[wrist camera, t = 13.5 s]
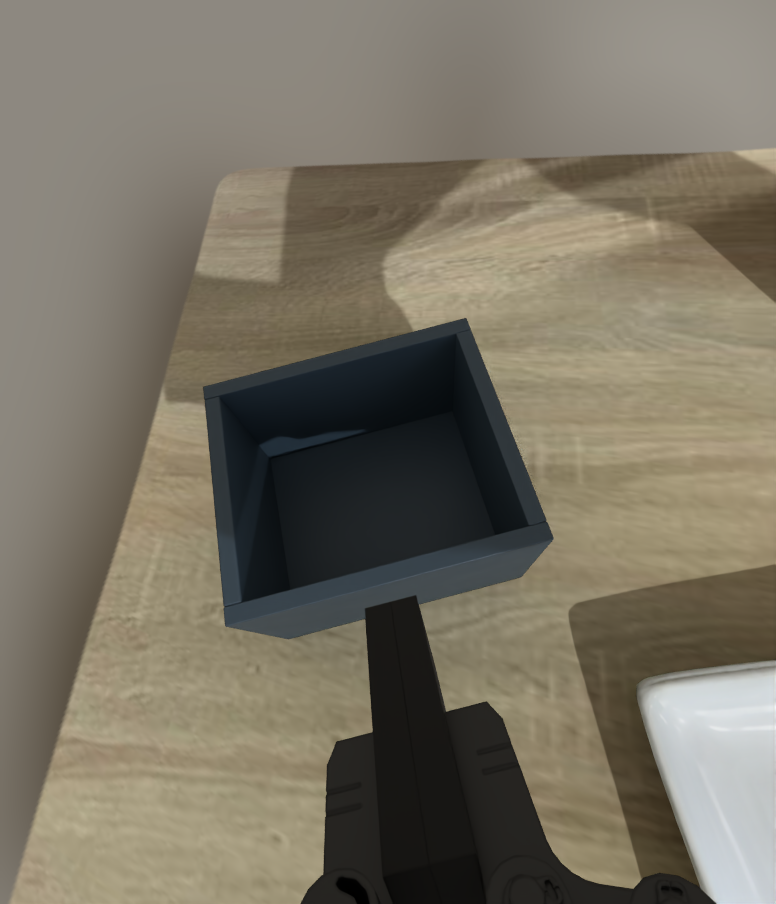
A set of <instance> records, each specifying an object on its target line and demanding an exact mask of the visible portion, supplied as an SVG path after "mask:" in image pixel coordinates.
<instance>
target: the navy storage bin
mask: <svg viewBox="0 0 776 904" xmlns="http://www.w3.org/2000/svg"><path fill="white" fill-rule="evenodd" d="M203 390H204V399H205V408H206V419H207V430H208V441H209V452H210V462H211V473H212V484H213V495H214V506H215V517H216V527H217V538H218V549H219V560H220V571H221V581H222V592H223V603H224V618H225V626H226V627H231V628H236V629H240V630H245V631H250V632H255V633H260V634H265V635H270V636H275V637H280V638H285V639H291V638H295V637H299V636H302V635H306V634H310V633H314V632H317V631H321V630H325V629H329V628H332V627H336V626H340V625H344V624H347V623H351V622H355V621H359V620H362V619H365V608H368V607H372V606H376V605H379V604H383V603H387V602H391V601H395V600H399V599H403V598H406V597H410V596H414V595H416V596H417V600H418V604H422V603H426V602H430V601H434V600H437V599H441V598H445V597H449V596H452V595H456V594H460V593H464V592H467V591H471V590H475V589H479V588H482V587H486V586H490V585H494V584H497V583H501V582H505V581H509V580H512V579H516V578H520V577H522V576H523V574H524V573H525V572H526V571H527V570H528V568H529V567H530V566H531V565H532V564H533V563H534V561H535V560H536V559H537V558H538V557H539V556H540V554H541V553H542V552H543V551H544V550H545V549H546V547H547V546H548V545H549V544H550V543H551V542H552V540H553V539H554V538H553V535H552V533H551V530H550V528H549V525H548V523H547V522H546V518H545V515H544V513H543V510H542V508H541V505H540V503H539V500H538V498H537V495H536V493H535V490H534V488H533V485H532V482H531V480H530V477H529V475H528V472H527V470H526V467H525V465H524V462H523V460H522V457H521V455H520V452H519V450H518V447H517V445H516V442H515V440H514V437H513V435H512V432H511V430H510V427H509V425H508V422H507V420H506V417H505V415H504V412H503V410H502V407H501V405H500V402H499V399H498V397H497V394H496V392H495V389H494V387H493V384H492V382H491V379H490V377H489V374H488V372H487V369H486V367H485V364H484V362H483V359H482V357H481V354H480V352H479V349H478V347H477V344H476V342H475V339H474V337H473V334H472V332H471V329H470V327H469V324H468V321H467V319H466V318H464V319H460V320H456V321H453V322H449V323H445V324H441V325H437V326H434V327H430V328H426V329H422V330H418V331H414V332H411V333H407V334H403V335H399V336H395V337H392V338H388V339H384V340H380V341H376V342H373V343H369V344H365V345H361V346H357V347H353V348H350V349H346V350H342V351H338V352H334V353H331V354H327V355H323V356H319V357H315V358H311V359H308V360H304V361H300V362H296V363H292V364H289V365H285V366H281V367H277V368H273V369H269V370H266V371H262V372H258V373H254V374H250V375H247V376H243V377H239V378H235V379H231V380H227V381H224V382H220V383H216V384H212V385H208V386H205V387H203Z"/></svg>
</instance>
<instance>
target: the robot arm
mask: <svg viewBox="0 0 776 904" xmlns="http://www.w3.org/2000/svg"><path fill="white" fill-rule="evenodd" d="M365 620H366V635H367V650H368V665H369V680H370V695H371V710H372V726H373V732H372V733H368V734H364V735H361V736H357V737H353V738H349V739H345V740H341V741H337V742H336V744H335V747H334V749H333V752H332V754H331V757H330V759H329V762H328V764H327V781H326V792H327V795H326V811H325V812H326V817H325V842H324V872H323V875H322V876H321V877H320V878H319V879H318V880H317V881H316V882H315V883H314V884H313V885H312V886H311V887H310V888H309V889H308V891H307V893H306V894H305V896H304V898H303V900H302V902H301V904H716V902H714V901H713V900H712V899H711V898H710V897H709V896H708V895H707V894H706V893H705V892H704V891H703V890H702V889H701V888H699V887H698V886H697V885H695V884H693V883H691V882H689V881H687V880H685V879H683V878H681V877H680V876H677V875H670V874H663V873H657V874H654V875H651V876H648V877H645V878H643V879H642V880H641V881H640V882H639V883H638V885H637V886H636V887H635V888H634V889H629V888H623V887H616V886H609V885H603V884H598V883H594V882H591V881H587V880H585V879H583V878H581V877H579V876H577V875H576V874H574V873H572V872H571V871H570V870H569V869H568V868H566V867H565V866H564V865H563V864H562V863H561V862H560V861H559V859H558V858H557V857H556V856H555V854H554V853H553V852H552V850H551V848H550V846H549V844H548V842H547V840H546V837H545V834H544V832H543V829H542V826H541V823H540V821H539V818H538V815H537V812H536V810H535V807H534V804H533V801H532V799H531V796H530V793H529V790H528V788H527V785H526V782H525V779H524V777H523V774H522V771H521V768H520V766H519V763H518V760H517V757H516V755H515V752H514V749H513V746H512V744H511V741H510V738H509V735H508V732H507V730H506V727H505V724H504V721H503V719H502V718H501V716H500V715H499V714H498V713H497V712H496V711H495V710H494V709H493V708H492V707H491V706H490V705H489V704H488V702H487V701H486V702H482V703H479V704H475V705H471V706H467V707H463V708H459V709H455V710H452V711H448V712H446V710H445V706H444V701H443V697H442V693H441V689H440V685H439V680H438V676H437V672H436V668H435V664H434V660H433V656H432V653H431V649H430V645H429V641H428V638H427V634H426V630H425V626H424V623H423V619H422V615H421V611H420V608H419V604H418V600H417V596H416V595H414V596H410V597H406V598H403V599H399V600H395V601H391V602H387V603H383V604H379V605H376V606H372V607H368V608H365Z"/></svg>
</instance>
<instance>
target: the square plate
mask: <svg viewBox="0 0 776 904" xmlns="http://www.w3.org/2000/svg"><path fill="white" fill-rule="evenodd" d="M636 697H637V701H638V705H639V708H640V712H641V716H642V719H643V723H644V727H645V730H646V733H647V736H648V739H649V743H650V746H651V749H652V752H653V755H654V758H655V761H656V764H657V767H658V770H659V773H660V775H661V778H662V781H663V784H664V787H665V790H666V793H667V796H668V798H669V801H670V804H671V807H672V810H673V813H674V816H675V819H676V821H677V824H678V827H679V829H680V832H681V835H682V838H683V840H684V843H685V846H686V848H687V851H688V854H689V857H690V859H691V862H692V865H693V868H694V871H695V874H696V876H697V879H698V882H699V885H700V888H701V889H702V890H703V891H704V892H705V893H706V894H707V895H708V896H709V897H710V898H711V899H712V900H713V901H714V902H716V904H776V660H768V661H759V662H749V663H740V664H732V665H724V666H715V667H707V668H699V669H691V670H685V671H678V672H671V673H666V674H662V675H657V676H652V677H648V678H646V679H643V680H642V681H640V682H639V683H638V684H637V690H636Z"/></svg>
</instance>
